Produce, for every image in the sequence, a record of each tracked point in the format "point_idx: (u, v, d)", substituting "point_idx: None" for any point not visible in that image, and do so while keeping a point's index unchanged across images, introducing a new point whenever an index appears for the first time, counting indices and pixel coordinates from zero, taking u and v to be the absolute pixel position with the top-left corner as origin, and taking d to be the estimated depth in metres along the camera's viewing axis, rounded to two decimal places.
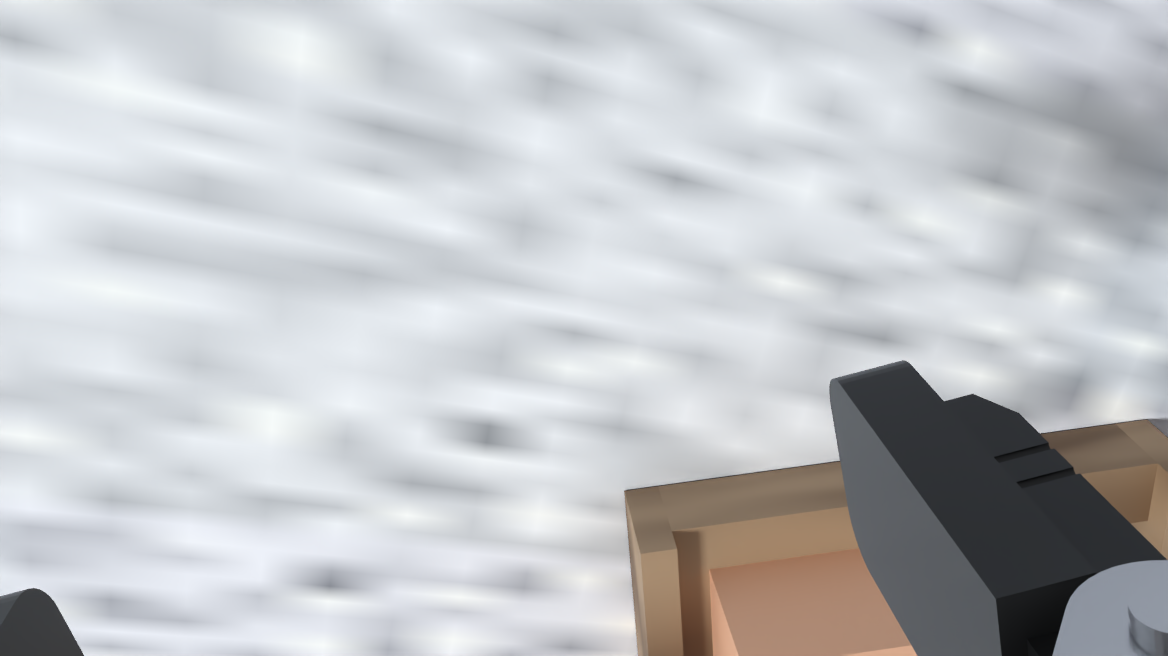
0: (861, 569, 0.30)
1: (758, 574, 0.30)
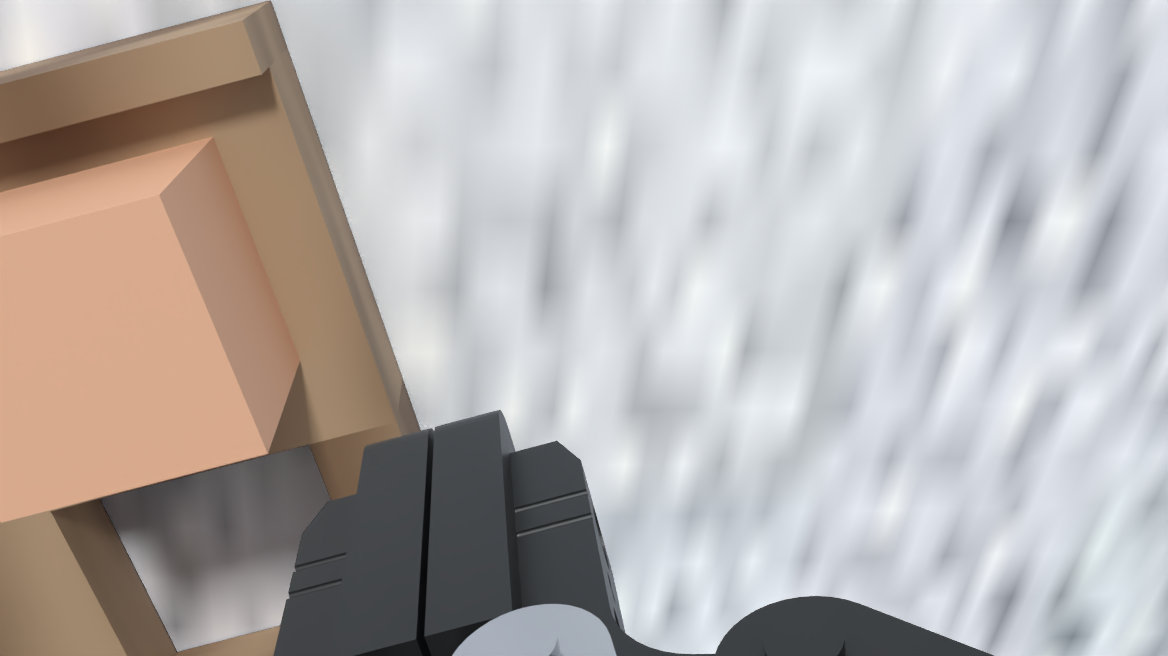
0: (278, 340, 0.22)
1: (231, 205, 0.21)
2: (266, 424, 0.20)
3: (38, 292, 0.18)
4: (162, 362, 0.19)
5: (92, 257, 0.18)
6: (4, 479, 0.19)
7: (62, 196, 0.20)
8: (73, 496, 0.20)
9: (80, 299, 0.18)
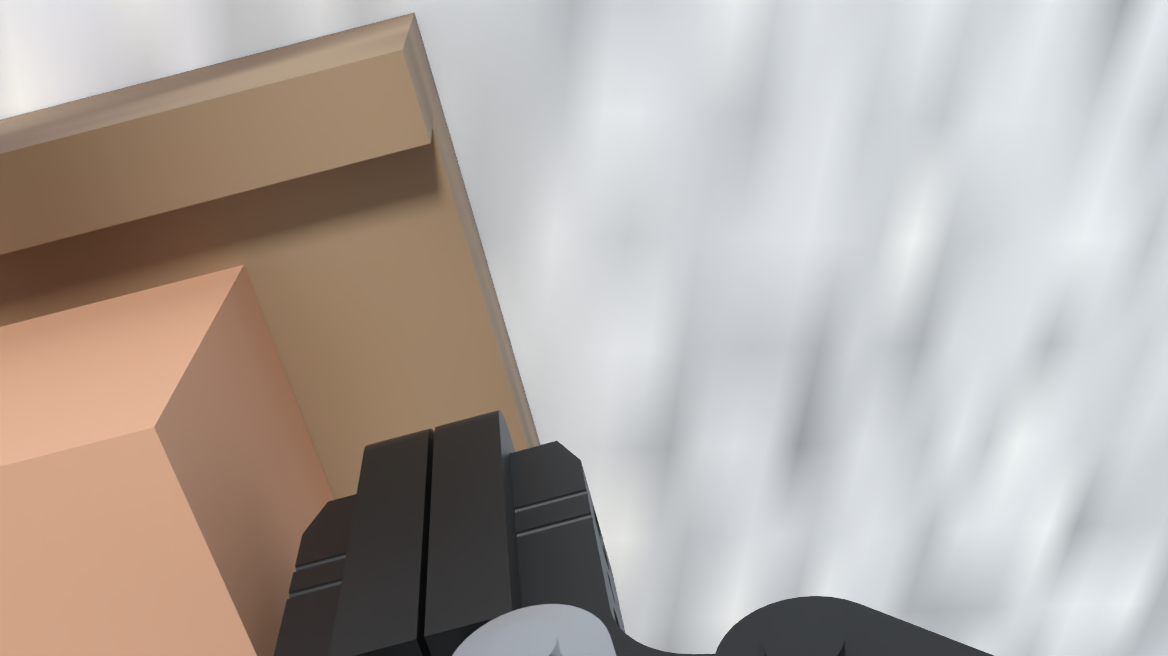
0: None
1: (274, 380, 0.13)
2: None
3: None
4: None
5: (23, 541, 0.09)
6: None
7: None
8: None
9: (0, 612, 0.10)
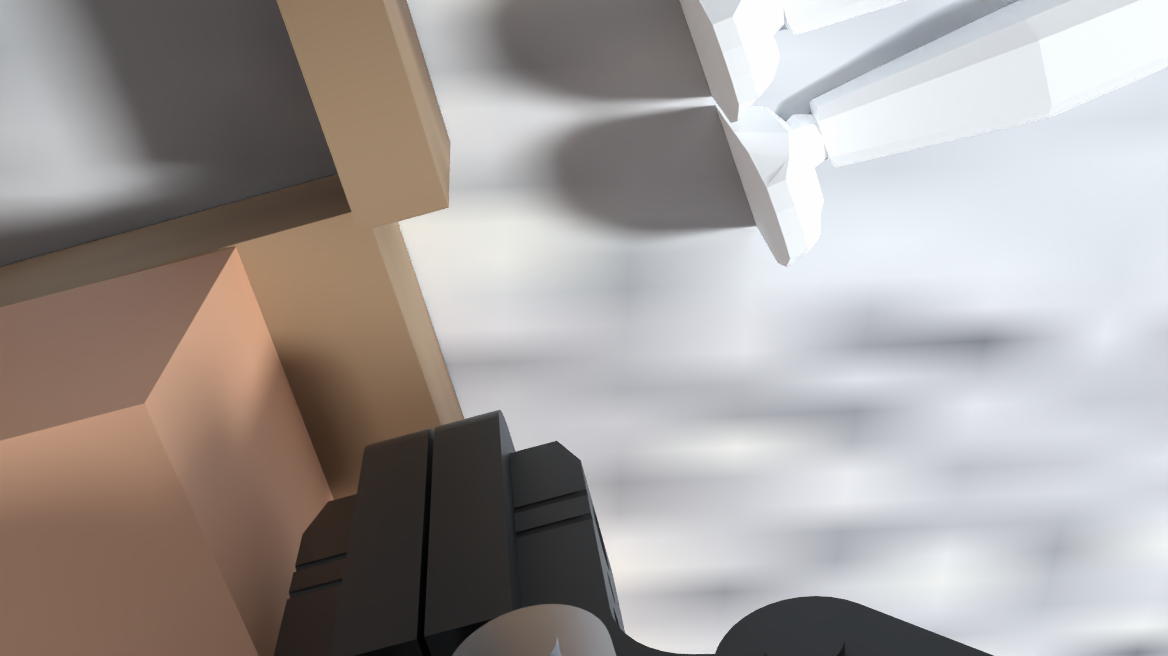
0: None
1: None
2: None
3: None
4: None
5: None
6: None
7: (288, 531, 0.12)
8: None
9: None
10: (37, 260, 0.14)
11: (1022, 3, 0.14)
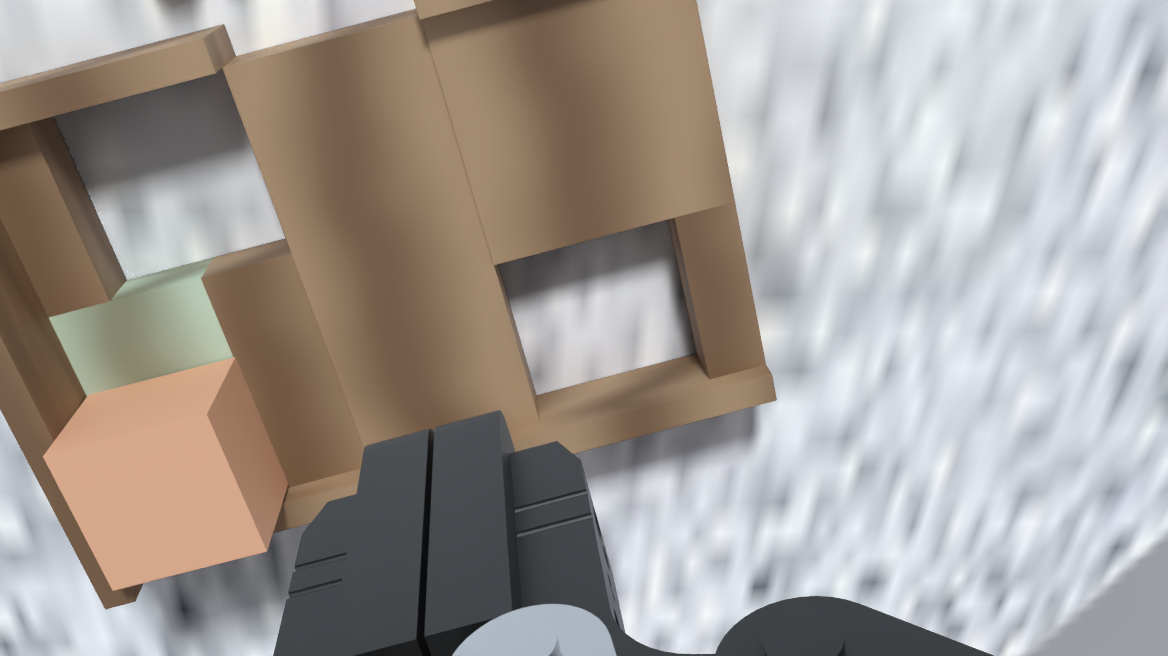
0: (274, 476, 0.36)
1: (246, 398, 0.36)
2: (266, 533, 0.34)
3: (139, 465, 0.32)
4: (207, 502, 0.33)
5: (169, 447, 0.32)
6: (115, 566, 0.34)
7: (149, 403, 0.34)
8: (154, 575, 0.34)
9: (161, 468, 0.33)
10: None
11: None
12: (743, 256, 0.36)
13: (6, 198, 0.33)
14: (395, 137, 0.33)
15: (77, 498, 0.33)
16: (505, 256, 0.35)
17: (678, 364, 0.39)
